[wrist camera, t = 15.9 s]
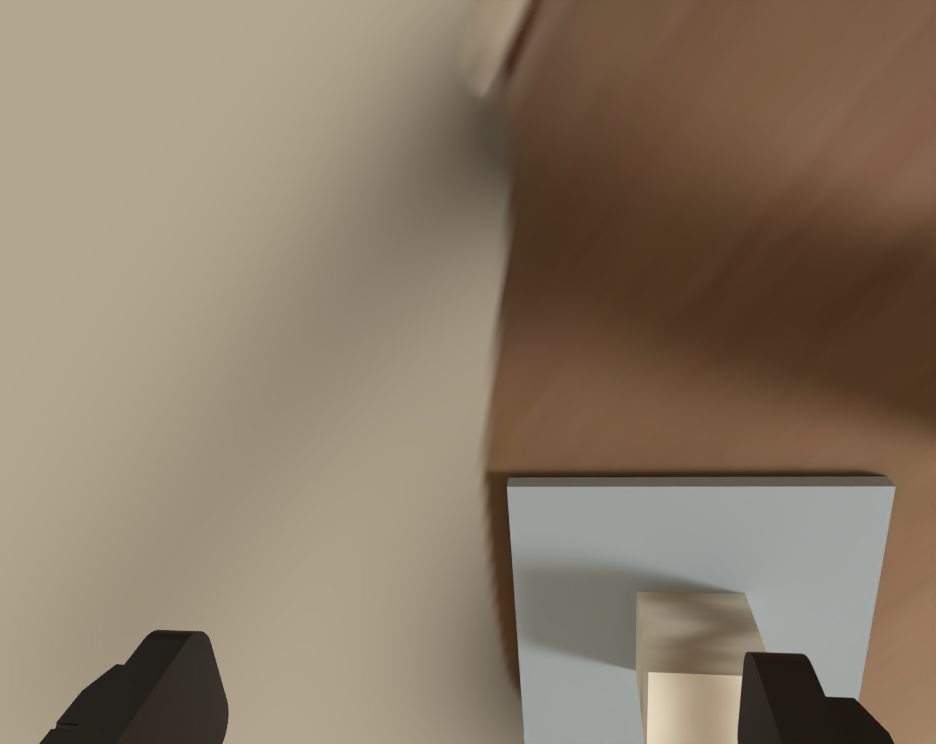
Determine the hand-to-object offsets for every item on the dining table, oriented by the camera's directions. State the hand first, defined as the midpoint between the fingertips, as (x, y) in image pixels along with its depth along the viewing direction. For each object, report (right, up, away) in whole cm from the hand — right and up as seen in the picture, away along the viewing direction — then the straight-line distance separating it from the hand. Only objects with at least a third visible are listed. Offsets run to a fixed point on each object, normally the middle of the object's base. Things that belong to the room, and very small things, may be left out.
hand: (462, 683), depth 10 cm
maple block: (+13, -11, +30) cm, 34 cm away
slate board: (+13, -10, +31) cm, 35 cm away
